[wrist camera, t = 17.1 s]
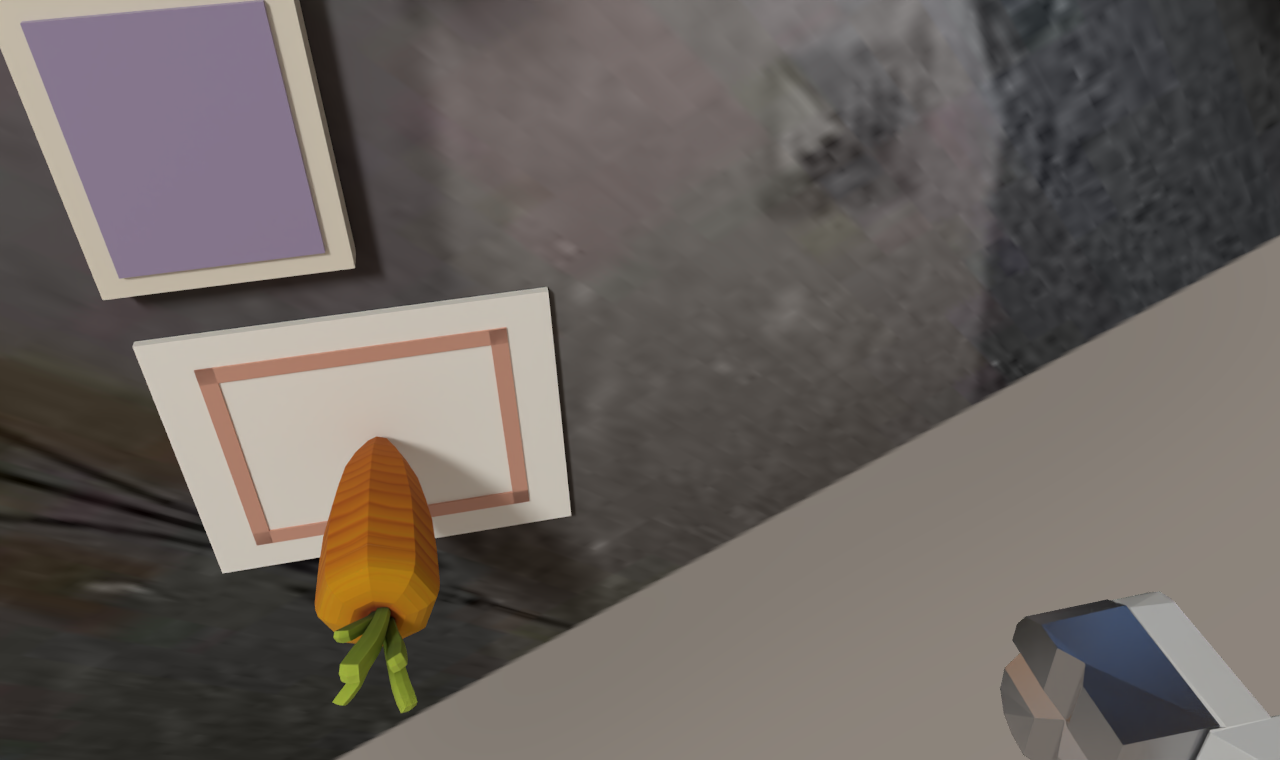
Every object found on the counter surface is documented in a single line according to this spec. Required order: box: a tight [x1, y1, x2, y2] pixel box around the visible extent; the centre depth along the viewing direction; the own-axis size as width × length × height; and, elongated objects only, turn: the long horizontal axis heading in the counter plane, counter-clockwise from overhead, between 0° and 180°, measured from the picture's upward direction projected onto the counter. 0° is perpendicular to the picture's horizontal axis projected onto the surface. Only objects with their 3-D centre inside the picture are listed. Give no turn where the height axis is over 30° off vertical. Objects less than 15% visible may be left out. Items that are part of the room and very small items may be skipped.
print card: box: [133, 287, 571, 573], centre depth 49 cm, size 18×14×1 cm
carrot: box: [315, 436, 440, 713], centre depth 43 cm, size 5×5×15 cm
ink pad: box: [0, 0, 356, 300], centre depth 39 cm, size 10×12×2 cm
